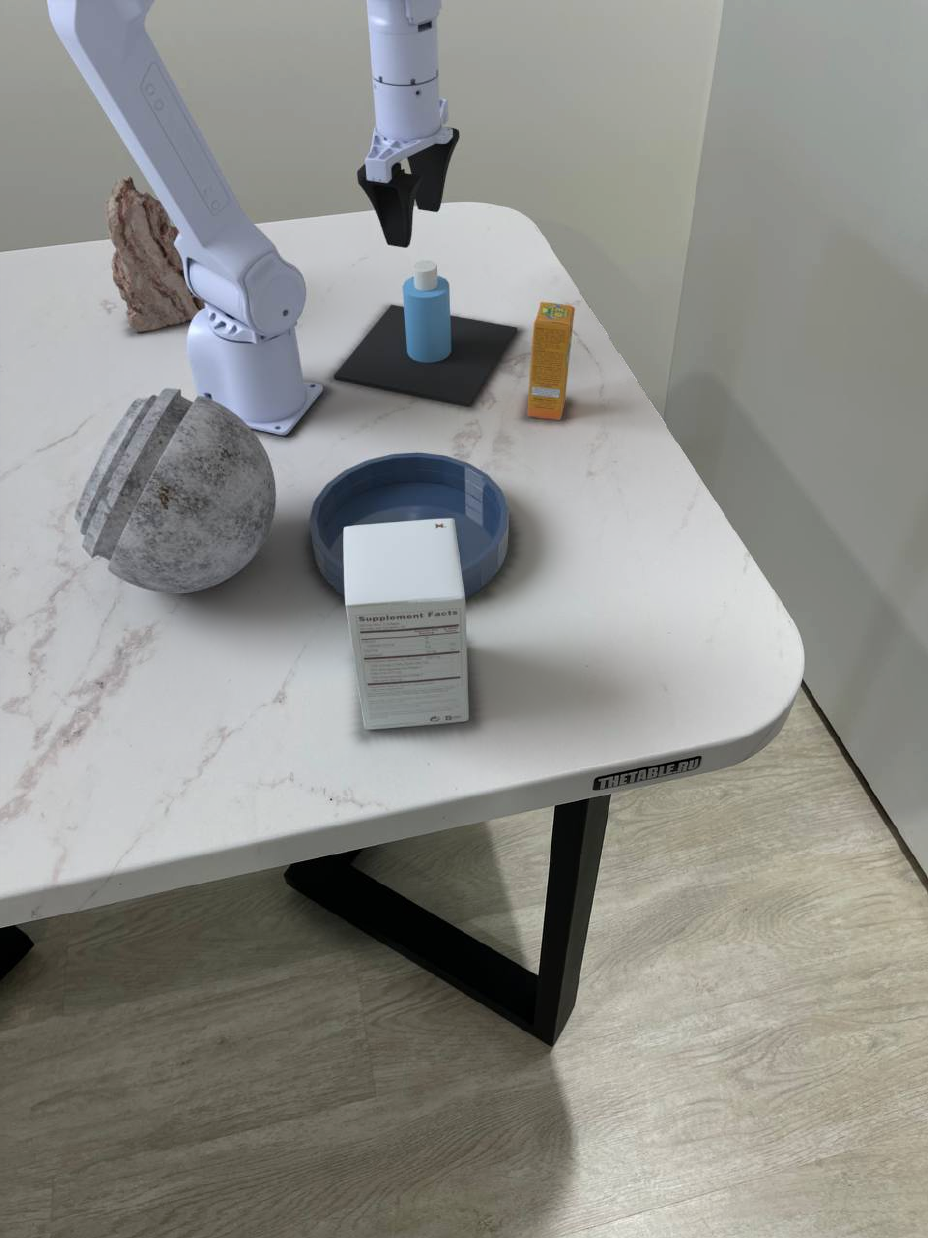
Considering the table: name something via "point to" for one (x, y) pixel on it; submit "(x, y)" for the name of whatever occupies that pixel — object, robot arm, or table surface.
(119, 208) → the stone
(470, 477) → the bowl
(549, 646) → the table surface
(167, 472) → the decorative orb
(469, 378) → the mat
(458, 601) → the white packaging box
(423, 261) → the bottle
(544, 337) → the supplement box
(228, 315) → the robot arm
